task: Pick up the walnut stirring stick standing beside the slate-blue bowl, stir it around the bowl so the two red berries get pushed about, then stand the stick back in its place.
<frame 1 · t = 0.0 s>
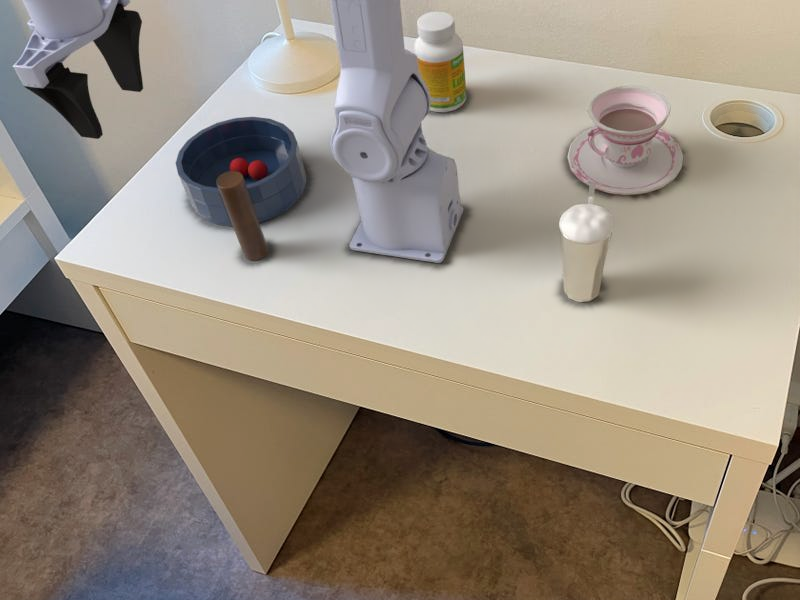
hand: (113, 111, 79), 10 cm above the table, tool pointing down, fingers open, 7 cm apart
stirring stick: (256, 252, 80), on the table
berry a: (239, 167, 86), point 2 cm above the table, touching bowl
teacup: (624, 161, 86), on the table
milkshake: (582, 288, 75), on the table
berry b: (258, 170, 86), point 2 cm above the table, touching bowl
bowl: (248, 187, 87), on the table
supplement bottle: (443, 101, 95), on the table
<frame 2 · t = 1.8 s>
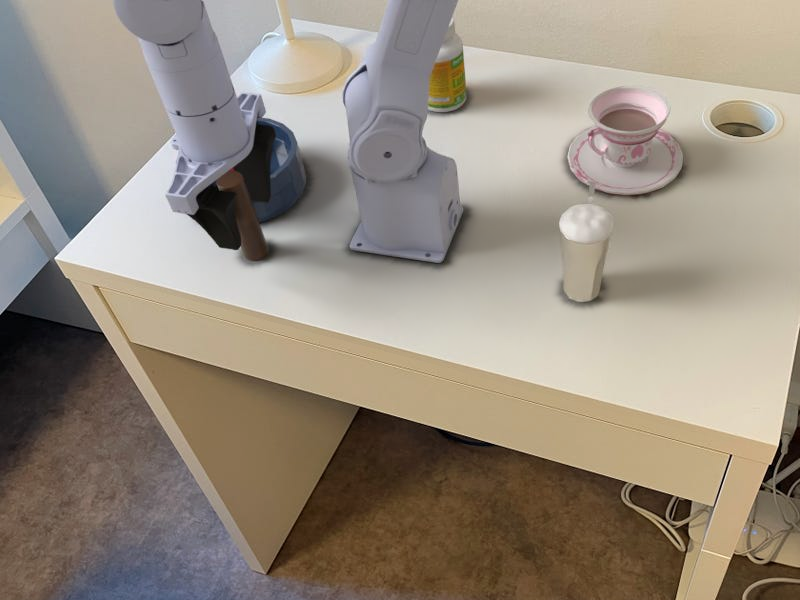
hand: (245, 222, 77), 4 cm above the table, tool pointing down, fingers open, 6 cm apart
nothing on the table moved.
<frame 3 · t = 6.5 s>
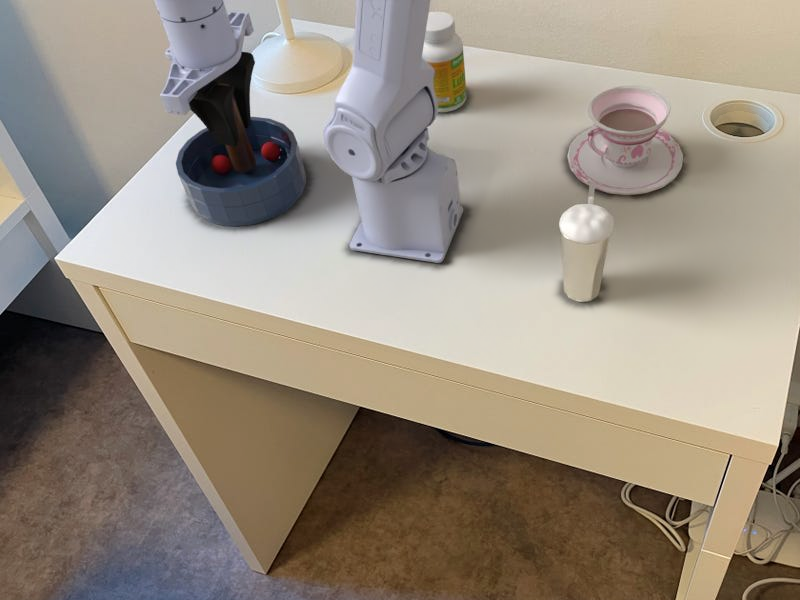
hand: (234, 134, 83), 5 cm above the table, tool pointing down, fingers closed on stirring stick, 2 cm apart
stirring stick: (244, 165, 87), point 2 cm above the table, touching gripper
berry a: (221, 164, 87), point 2 cm above the table, tilted 126°, touching bowl
berry b: (271, 151, 88), point 2 cm above the table, tilted 177°, touching bowl
everything else where it was.
when the fingers open (4 cm above the table, at t = 10.4 s): stirring stick stays where it is, on the table.
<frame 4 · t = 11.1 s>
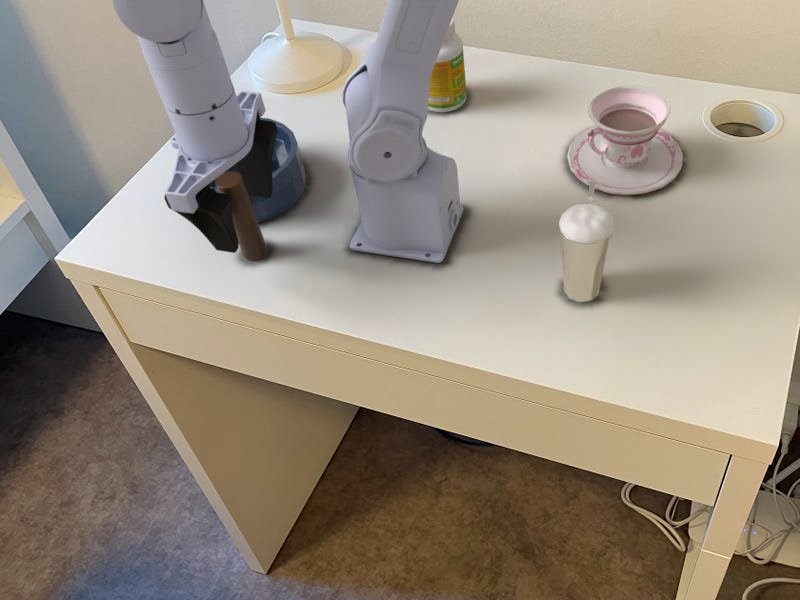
hand: (244, 221, 77), 4 cm above the table, tool pointing down, fingers open, 7 cm apart
stirring stick: (255, 252, 80), on the table
berry a: (214, 165, 87), point 2 cm above the table, tilted 149°, touching bowl
berry b: (262, 158, 87), point 2 cm above the table, tilted 101°, touching bowl
everything else where it was.
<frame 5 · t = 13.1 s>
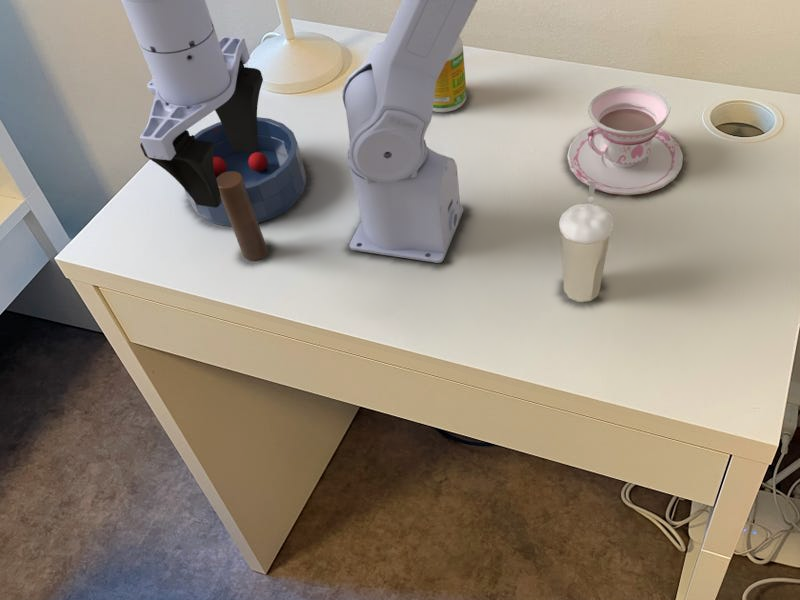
hand: (228, 175, 73), 9 cm above the table, tool pointing down, fingers open, 7 cm apart
berry a: (216, 166, 86), point 2 cm above the table, tilted 136°, touching bowl
berry b: (258, 162, 87), point 2 cm above the table, tilted 66°, touching bowl
everything else where it was.
at the end: berry a moved 2.6 cm from its start; berry a inside the target area in the bowl (3.7 cm from its centre), point 1.6 cm above the bowl's base; stirring stick tilted 0° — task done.
